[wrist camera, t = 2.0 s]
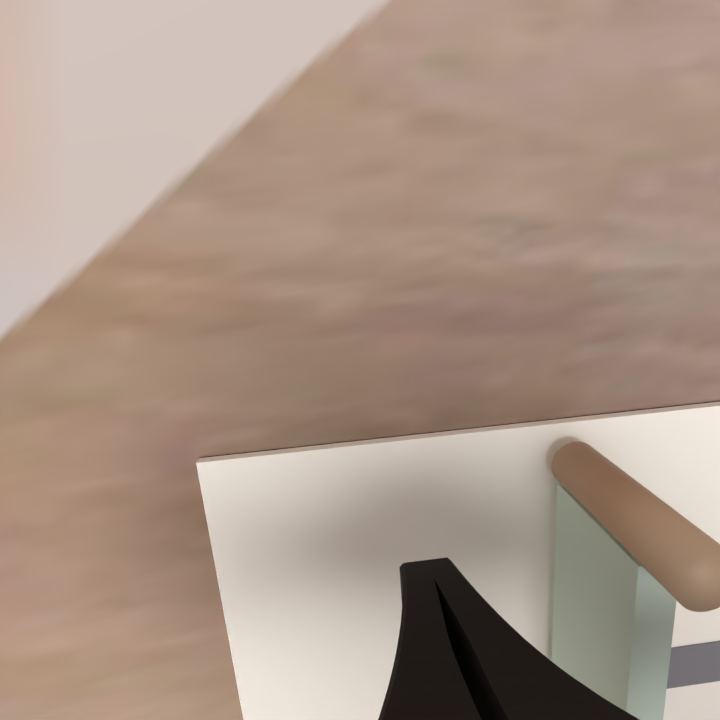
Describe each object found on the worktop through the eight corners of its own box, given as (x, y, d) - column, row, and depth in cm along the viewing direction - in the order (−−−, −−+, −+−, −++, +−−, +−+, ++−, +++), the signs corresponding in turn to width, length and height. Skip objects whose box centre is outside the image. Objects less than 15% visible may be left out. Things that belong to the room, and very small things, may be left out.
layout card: (794, 824, 20) (802, 834, 20) (281, 911, 19) (280, 923, 19) (892, 382, 15) (905, 386, 15) (198, 458, 14) (195, 463, 13)
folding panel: (585, 668, 16) (700, 855, 11) (545, 674, 16) (644, 864, 11) (598, 438, 14) (748, 546, 9) (552, 444, 14) (678, 555, 9)
